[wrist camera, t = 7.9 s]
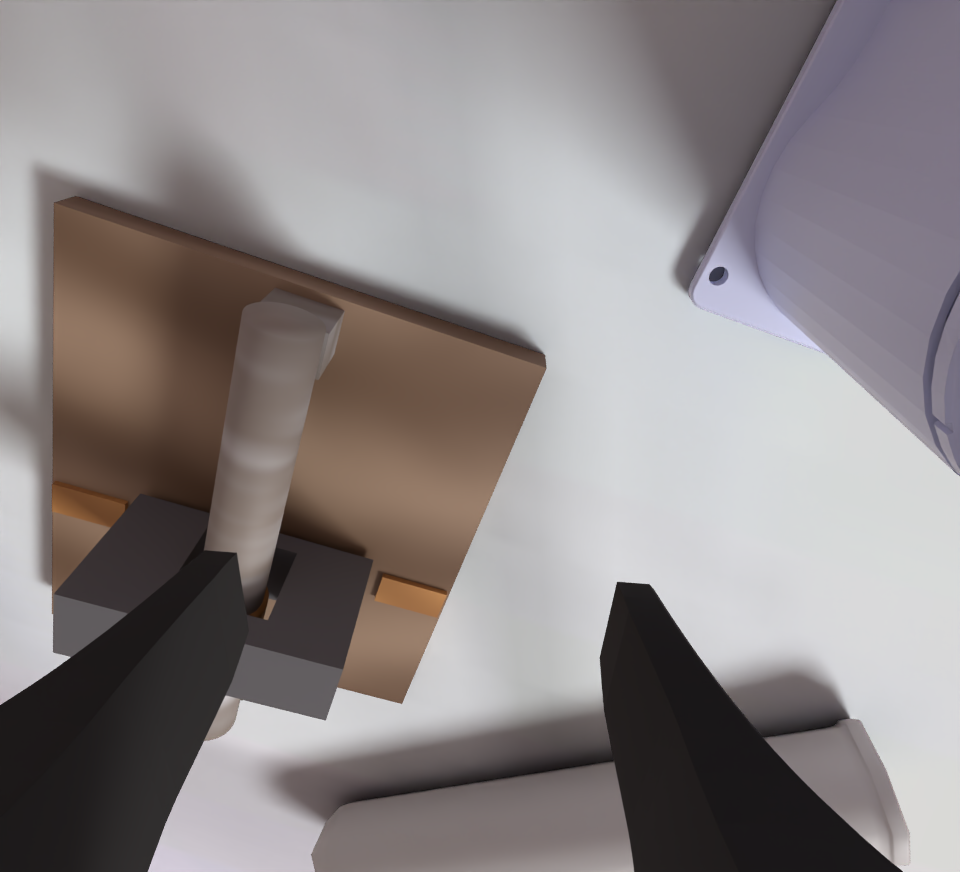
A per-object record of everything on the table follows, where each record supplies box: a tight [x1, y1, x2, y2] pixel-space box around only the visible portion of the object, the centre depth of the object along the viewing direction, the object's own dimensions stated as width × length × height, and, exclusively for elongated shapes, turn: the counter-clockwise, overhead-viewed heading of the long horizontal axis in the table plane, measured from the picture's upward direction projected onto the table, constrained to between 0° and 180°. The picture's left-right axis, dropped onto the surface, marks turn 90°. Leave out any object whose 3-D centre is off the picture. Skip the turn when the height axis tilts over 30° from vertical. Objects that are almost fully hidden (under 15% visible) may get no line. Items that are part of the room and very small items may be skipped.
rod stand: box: [52, 196, 546, 741], centre depth 21 cm, size 16×14×5 cm
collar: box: [53, 494, 373, 720], centre depth 21 cm, size 2×8×5 cm, turn 71°
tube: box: [311, 719, 910, 872], centre depth 29 cm, size 5×5×25 cm
